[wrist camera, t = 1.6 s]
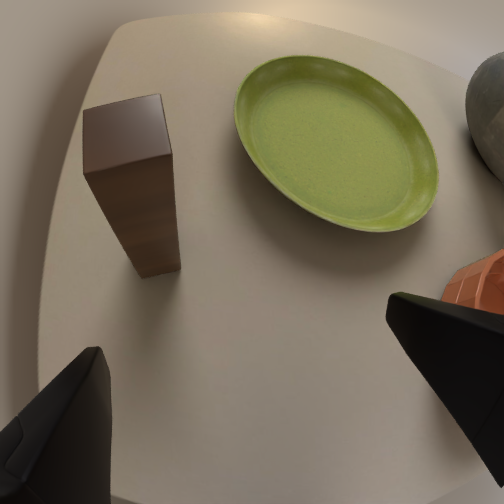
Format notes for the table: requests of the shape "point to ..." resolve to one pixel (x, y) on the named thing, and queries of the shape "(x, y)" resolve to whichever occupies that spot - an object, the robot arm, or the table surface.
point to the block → (134, 179)
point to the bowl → (488, 112)
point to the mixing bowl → (479, 285)
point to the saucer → (337, 143)
